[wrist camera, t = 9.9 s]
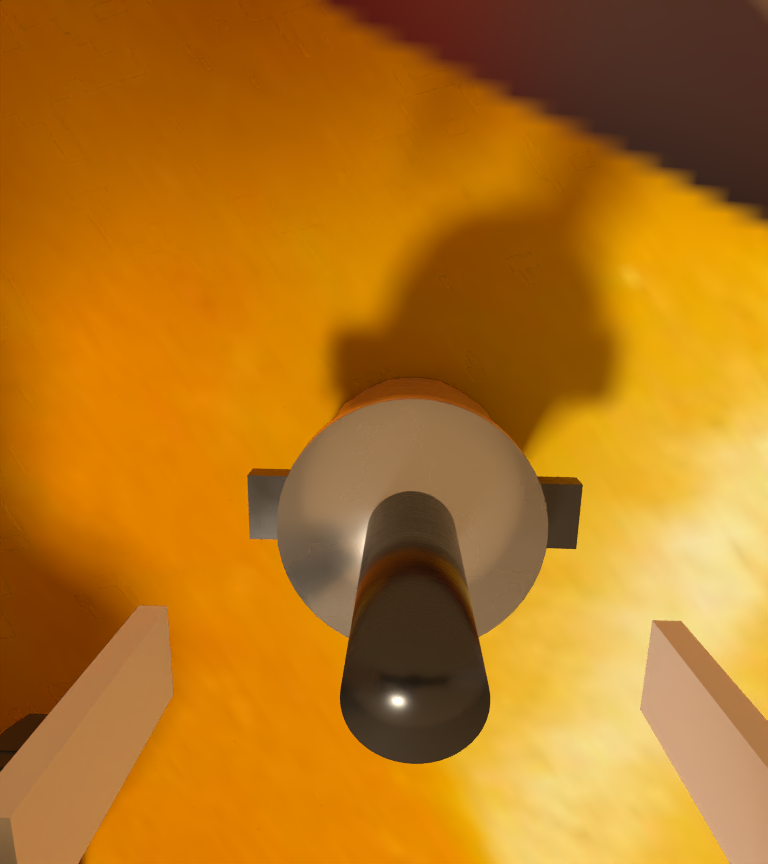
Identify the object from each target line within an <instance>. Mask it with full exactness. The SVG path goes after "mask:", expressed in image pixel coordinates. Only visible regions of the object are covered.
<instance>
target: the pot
mask: <svg viewBox="0 0 768 864" xmlns="http://www.w3.org/2000/svg"><path fill="white" fill-rule="evenodd" d="M411 394H417V395H428V396H435V397H440V398H444V399H449V400H452V401H455V402H458V403H460V404H463V405H466V406H468V407H470V408H472V409H474V410H476V411H478V412H480V413H481V414H483V415H485V416H486V417H487V418H489V419H490V420H492V419H491V418H490V416H489V415H488V413H487V412H486V410H485V409H484V407H483V406H481V405H479V404H478V403H476V402H474V401H473V400H472V399H471V398H470V397H468V396H467V395H466V394H464V393H463V392H461V391H460V390H458V389H456V388H454V387H452V386H450V385H448V384H445V383H443V382H442V381H440V380H432V379H427V378H418V377H405V378H397V379H388V380H386V381H384V382H381V383H378V384H376V385H374V386H371V387H369V388H367V389H366V390H364V391H362V392H361V393H359V394H358V395H356V396H355V397H354V398H353V399H351V400H350V401H348V402H346V403H344V404H343V406H342V408H341V410H340V411H339V413H338V415H337V416H339V415H341V414H342V413H344V412H345V411H347V410H349V409H351V408H354V407H356V406H358V405H360V404H362V403H365V402H368V401H372V400H375V399H378V398H383V397H389V396H395V395H411ZM337 416H336V417H337ZM289 472H290V470H288V469H252V471H251V472H250V473H249V474H248V501H249V527H250V539H277V511H278V506H279V500H280V495H281V493H282V490H283V487H284V484H285V481H286V478H287V476H288V474H289ZM537 478H538V480H539V483H540V485H541V487H542V491H543V495H544V498H545V502H546V507H547V516H548V540H547V546H546V548H561V549H576V545H577V535H578V525H579V516H580V506H581V496H582V486H583V485H582V483H581V482H580V481H579V480H578V479H577V478H573V477H537Z"/></svg>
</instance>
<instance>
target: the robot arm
mask: <svg viewBox="0 0 768 864" xmlns="http://www.w3.org/2000/svg"><path fill="white" fill-rule="evenodd" d="M173 694H174V693H173V679H172V666H171V652H170V639H169V625H168V612H167V606H141V605H139V606H138V608H137V609H136V610H135V611H134V612H133V614H132V615H131V616H130V617H129V618H128V620H127V621H126V622H125V623H124V624H123V626H122V627H121V628H120V629H119V630H118V632H117V633H116V634H115V635H114V636H113V638H112V639H111V640H110V641H109V642H108V644H107V645H106V646H105V647H104V648H103V650H102V651H101V652H100V653H99V654H98V656H97V657H96V658H95V659H94V660H93V662H92V663H91V664H90V665H89V666H88V668H87V669H86V670H85V671H84V672H83V674H82V675H81V676H80V677H79V678H78V680H77V681H76V682H75V683H74V684H73V686H72V687H71V688H70V689H69V690H68V692H67V693H66V694H65V695H64V696H63V698H62V699H61V700H60V701H59V702H58V704H57V705H56V706H55V707H54V708H53V710H52V711H51V712H50V713H49V714H29V715H27V716H26V717H24V718H23V719H21V720H20V721H18V722H17V723H15V724H14V725H12V726H11V727H9V728H8V729H7V730H5V731H4V732H3V733H2V734H1V736H0V864H78V863H79V862H80V860H81V858H82V856H83V854H84V853H85V851H86V849H87V847H88V846H89V844H90V842H91V840H92V838H93V837H94V835H95V833H96V831H97V830H98V828H99V826H100V824H101V822H102V821H103V819H104V817H105V815H106V814H107V812H108V810H109V808H110V806H111V805H112V803H113V801H114V799H115V798H116V796H117V794H118V792H119V790H120V789H121V787H122V785H123V783H124V782H125V780H126V778H127V776H128V774H129V773H130V771H131V769H132V767H133V766H134V764H135V762H136V760H137V758H138V757H139V755H140V753H141V751H142V750H143V748H144V746H145V744H146V742H147V741H148V739H149V737H150V735H151V734H152V732H153V730H154V728H155V726H156V725H157V723H158V721H159V719H160V718H161V716H162V714H163V712H164V710H165V709H166V707H167V705H168V703H169V702H170V700H171V698H172V696H173ZM640 710H641V711H642V713H643V715H644V716H645V718H646V720H647V722H648V723H649V725H650V727H651V728H652V730H653V732H654V734H655V735H656V737H657V739H658V741H659V742H660V744H661V746H662V747H663V749H664V751H665V753H666V754H667V756H668V758H669V759H670V761H671V763H672V765H673V766H674V768H675V770H676V771H677V773H678V775H679V777H680V778H681V780H682V782H683V783H684V785H685V787H686V789H687V790H688V792H689V794H690V795H691V797H692V799H693V801H694V802H695V804H696V806H697V807H698V809H699V811H700V813H701V814H702V816H703V818H704V819H705V821H706V823H707V825H708V826H709V828H710V830H711V831H712V833H713V835H714V837H715V838H716V840H717V842H718V844H719V845H720V847H721V849H722V850H723V852H724V854H725V856H726V857H727V859H728V861H729V862H730V864H768V721H767V720H766V719H765V718H764V716H763V715H762V714H761V713H760V712H759V711H758V709H757V708H756V707H755V706H754V705H753V704H752V702H751V701H750V700H749V699H748V698H747V697H746V696H745V694H744V693H743V692H742V691H741V690H740V689H739V687H738V686H737V685H736V684H735V683H734V682H733V681H732V679H731V678H730V677H729V676H728V675H727V674H726V672H725V671H724V670H723V669H722V668H721V667H720V665H719V664H718V663H717V662H716V661H715V660H714V659H713V657H712V656H711V655H710V654H709V653H708V652H707V650H706V649H705V648H704V647H703V646H702V645H701V643H700V642H699V641H698V640H697V639H696V638H695V637H694V635H693V634H692V633H691V632H690V631H689V630H688V628H687V627H686V626H685V625H684V624H683V623H682V622H681V621H657V620H652V627H651V634H650V642H649V649H648V656H647V664H646V671H645V678H644V686H643V693H642V700H641V707H640Z"/></svg>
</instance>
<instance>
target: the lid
mask: <svg viewBox="0 0 768 864" xmlns="http://www.w3.org/2000/svg"><path fill="white" fill-rule="evenodd" d="M277 539H278V547H279V551H280V555H281V559H282V563H283V565H284V568H285V570H286V573H287V576H288V578H289V579H290V581H291V583H292V585H293V587H294V589H295V590H296V592H297V593H298V595H299V596H300V597H301V599H302V600H303V601H304V603H305V604H306V605H307V606H308V607H309V608H310V609H311V610H312V611H313V613H314V614H315V615H316V616H317V617H319V618H320V619H321V620H322V621H324V622H325V623H326V624H327V625H328V626H330V627H331V628H333V629H334V630H336V631H338V632H339V633H341V634H342V635H344V636H346V637H348V638H349V641H348V648H347V654H346V660H345V666H344V672H343V678H342V684H341V691H340V704H341V710H342V714H343V717H344V720H345V722H346V724H347V726H348V728H349V729H350V731H351V732H352V734H353V735H354V736H355V737H356V738H357V739H358V741H359V742H360V743H361V744H363V745H364V746H365V747H366V748H368V749H369V750H371V751H372V752H374V753H376V754H378V755H380V756H382V757H384V758H387V759H390V760H393V761H397V762H402V763H411V764H423V763H431V762H435V761H440V760H443V759H446V758H448V757H451V756H453V755H455V754H457V753H458V752H460V751H461V750H463V749H464V748H466V747H467V746H468V745H469V744H470V743H472V742H473V740H474V739H475V738H476V737H477V736H478V735H479V733H480V732H481V730H482V729H483V727H484V724H485V722H486V720H487V717H488V714H489V708H490V692H489V686H488V681H487V676H486V671H485V667H484V662H483V657H482V652H481V647H480V643H479V638H478V637H479V636H481V635H483V634H485V633H487V632H489V631H490V630H491V629H493V628H494V627H496V626H497V625H499V624H500V623H501V622H502V621H504V620H505V619H506V618H507V617H508V616H509V615H510V614H511V613H512V612H513V611H514V610H515V609H516V608H517V607H518V606H519V604H520V603H521V602H522V601H523V600H524V598H525V597H526V595H527V594H528V592H529V591H530V589H531V588H532V586H533V584H534V582H535V580H536V578H537V576H538V574H539V571H540V569H541V566H542V563H543V559H544V556H545V552H546V546H547V540H548V516H547V507H546V502H545V498H544V495H543V491H542V487H541V485H540V483H539V480H538V478H537V476H536V473H535V471H534V470H533V468H532V466H531V465H530V463H529V461H528V460H527V458H526V457H525V455H524V454H523V452H522V451H521V450H520V448H519V447H518V446H517V445H516V443H515V442H514V441H513V440H512V439H511V437H510V436H509V435H508V434H507V433H506V432H505V431H504V430H503V429H501V428H500V427H499V426H498V425H497V424H496V423H494V422H493V421H492V420H490V419H489V418H487V417H486V416H485V415H483V414H481V413H480V412H478V411H476V410H474V409H472V408H470V407H468V406H466V405H463V404H460V403H458V402H455V401H452V400H449V399H444V398H440V397H435V396H428V395H417V394H411V395H395V396H389V397H383V398H378V399H375V400H372V401H368V402H365V403H362V404H360V405H358V406H356V407H354V408H351V409H349V410H347V411H345V412H344V413H342V414H341V415H339V416H337V417H336V418H334V419H333V420H331V421H330V422H329V423H328V424H327V425H325V426H324V427H323V428H322V429H321V430H319V432H318V433H317V434H316V435H315V436H314V437H313V438H312V439H311V440H310V441H309V442H308V444H307V445H306V447H305V448H304V450H303V451H302V452H301V454H300V455H299V457H298V458H297V460H296V461H295V463H294V465H293V466H292V468H291V470H290V472H289V474H288V476H287V478H286V481H285V484H284V487H283V490H282V493H281V495H280V500H279V506H278V511H277Z"/></svg>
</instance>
